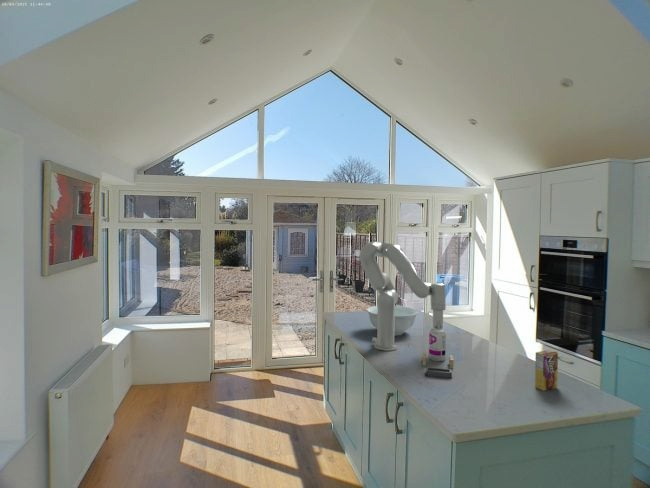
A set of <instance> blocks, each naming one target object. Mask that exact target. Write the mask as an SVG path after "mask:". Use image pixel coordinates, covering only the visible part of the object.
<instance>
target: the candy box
mask: <svg viewBox="0 0 650 488" xmlns="http://www.w3.org/2000/svg"><path fill="white" fill-rule="evenodd" d="M558 356H559V352H558V351H554V350H550V349H548V350H541V351H535V361H534V362H535V363H534V364H535V366H534V367H535V368H534V369H535V372H534V373H535V374H534V375H535V379H534V388H536V389H538V390H540V391H548V390H552V389H557V388H558V375H559V374H558V369H559V368H558V367H559V365H558V363H559V362H558V358H559V357H558Z"/></svg>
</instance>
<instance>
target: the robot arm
mask: <svg viewBox="0 0 650 488" xmlns="http://www.w3.org/2000/svg"><path fill="white" fill-rule="evenodd" d="M376 257H378V258H379V257H380V258H385V259H388V261H389V262H390V263H391V264H392V266H393V267H394V268H395V269H396V271H398V273H399V274H400V276H401V277H402V279H403V280H404V282H405V283H406V285H407V286H408V288H409V289H410V290H411V292H412V293H413V294H414V295H415V296H417V298H418V299H426V298H427V297H428V296H430V310H432V329H443V327H444V311H446V307H447V306H446V285H445V284H444V283H441V282H434V283H432V282H425V281H423V280H422V279H421V277H420V276H419V274H417V271H416V268H415V266H414V264H413V262H412V261H410V259H409V257H408V256H406V255H405V253H404V251H403V248H402V246H401V245H399V244H396V243H387V242H380V241H370V242H367V243H366V244H365V245H364V246H363V247H362V248H361V250H360V253H359V260H360V264H361V266H362V268H363V271H364V274H365V276H366V278H367V279H368V282H369V284H370V286H371V288H372V289H373V290H375V291H378V293H379V295H378V297H377V300H376V306H377V310H378V323H377V328H376V330H377V331H376V334H377V335H376V337H372V339H371V342H373V343H374V344H373V348H374V349H377V350H379V351H385V352H387V351H388V352H391V351H395V350H397V348H398V346H397V344H395V336H394V331H395V306H396V304H397V302H398V299H399V297H398V296H399V295H398V293H397V291H396V288H395V286H394V284H393V282H392V279H391V278H390V277H389V275H388V274H387V273H386V272H384V271H382V269H381V268H380V265H379V263H378V262H377V260H376ZM443 330H444V329H443Z"/></svg>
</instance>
